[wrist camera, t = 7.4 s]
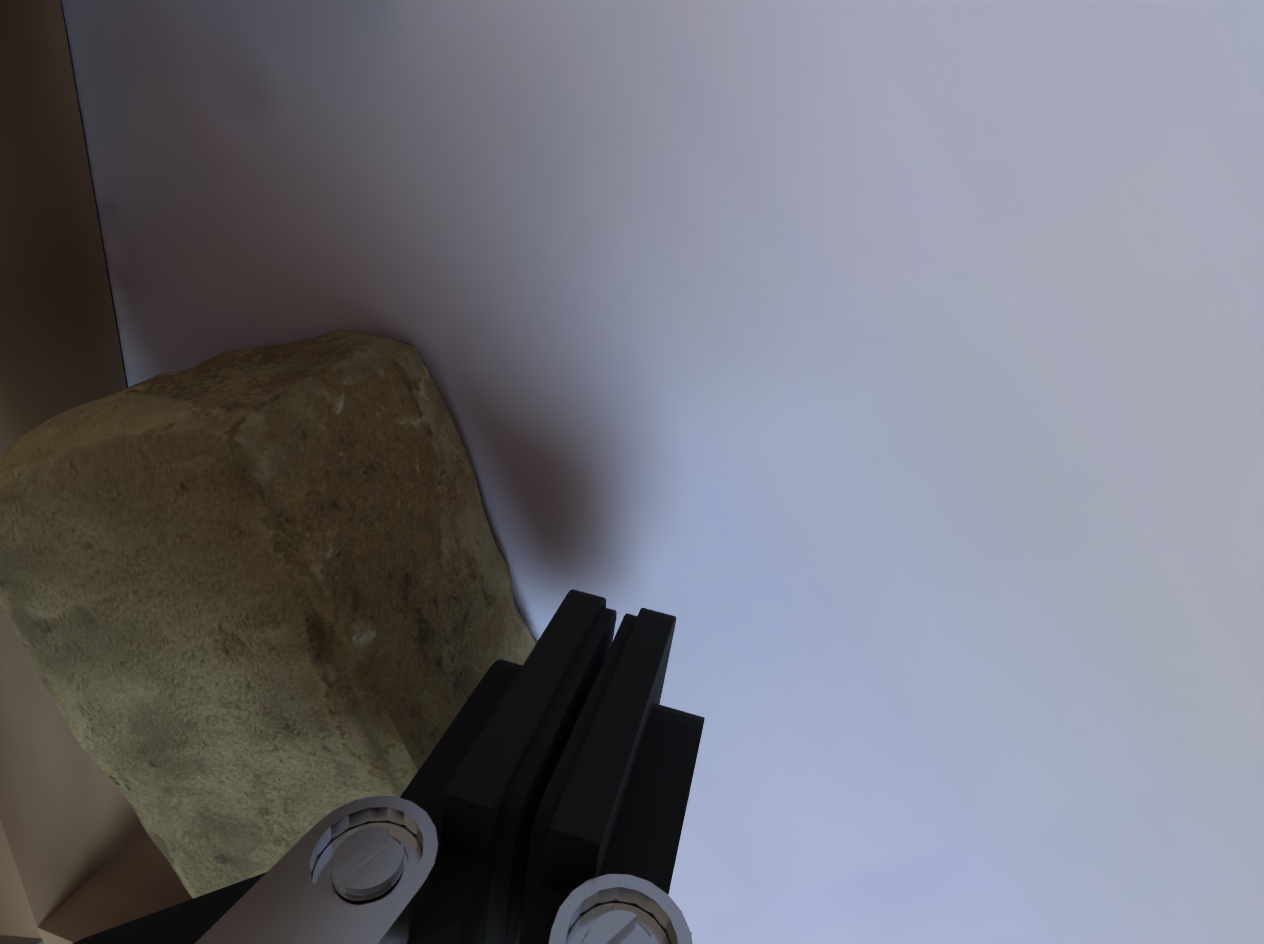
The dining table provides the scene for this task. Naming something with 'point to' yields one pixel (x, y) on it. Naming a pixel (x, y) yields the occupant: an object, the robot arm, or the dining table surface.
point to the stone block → (256, 589)
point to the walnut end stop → (3, 412)
